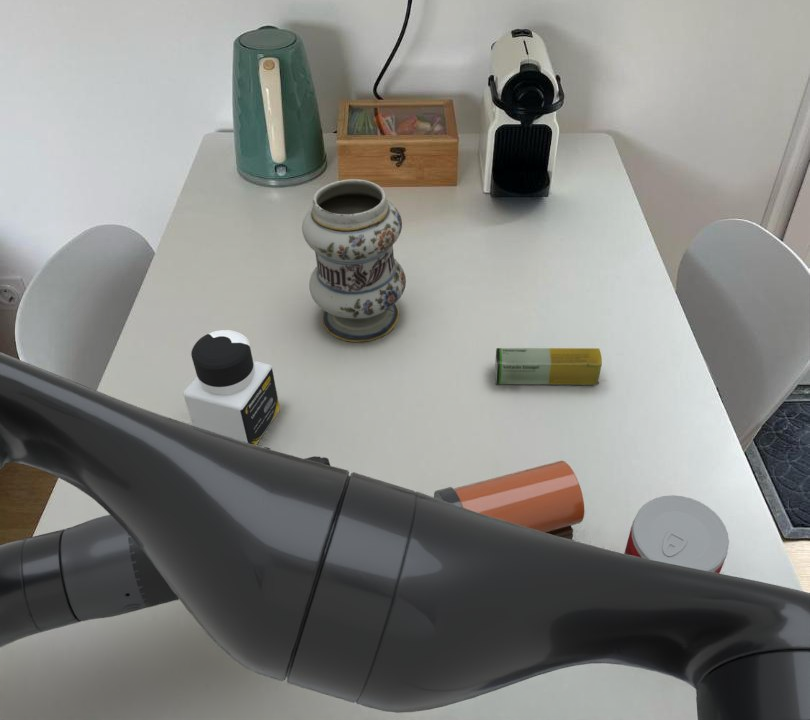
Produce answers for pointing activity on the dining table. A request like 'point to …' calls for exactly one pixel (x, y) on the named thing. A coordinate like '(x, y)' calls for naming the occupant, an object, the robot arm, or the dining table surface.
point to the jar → (525, 497)
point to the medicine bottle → (231, 388)
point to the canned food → (679, 534)
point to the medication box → (548, 366)
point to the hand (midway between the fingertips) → (341, 506)
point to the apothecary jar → (355, 259)
